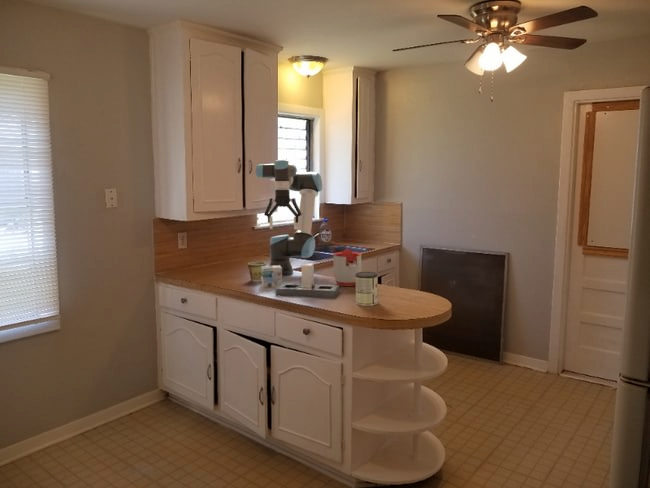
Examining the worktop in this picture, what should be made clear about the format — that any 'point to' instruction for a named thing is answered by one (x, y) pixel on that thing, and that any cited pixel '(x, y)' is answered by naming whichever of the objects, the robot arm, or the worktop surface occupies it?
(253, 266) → the ceramic cup
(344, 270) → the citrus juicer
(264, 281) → the light bulb box
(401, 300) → the worktop surface
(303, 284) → the beige square block
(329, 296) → the grey flat slotted block
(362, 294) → the coffee can
